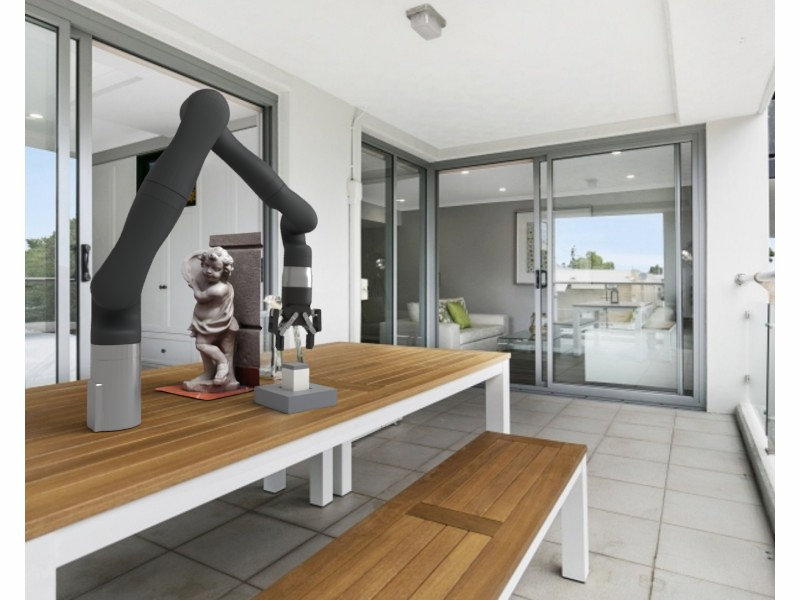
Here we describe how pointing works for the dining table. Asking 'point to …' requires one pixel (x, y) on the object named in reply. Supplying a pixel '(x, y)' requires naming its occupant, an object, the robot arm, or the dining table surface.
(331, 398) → the grey square socket
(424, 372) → the dining table surface
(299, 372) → the plug
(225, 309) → the cherub statue
